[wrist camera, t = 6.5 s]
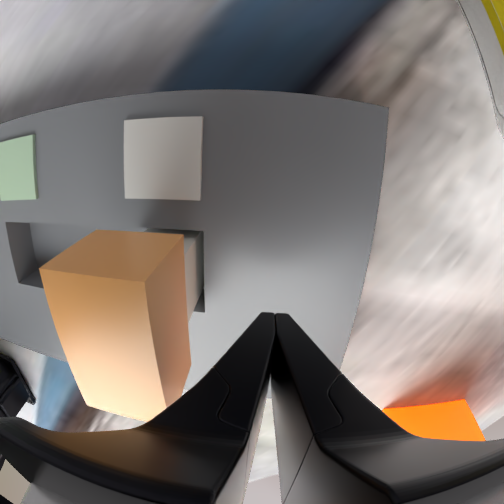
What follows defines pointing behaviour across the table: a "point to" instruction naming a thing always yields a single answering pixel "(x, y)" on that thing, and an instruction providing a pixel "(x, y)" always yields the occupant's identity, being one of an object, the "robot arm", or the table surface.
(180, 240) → the lever
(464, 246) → the table surface
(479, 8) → the emergency button
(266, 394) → the robot arm
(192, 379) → the breaker box
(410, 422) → the orange juice
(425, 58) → the table surface
